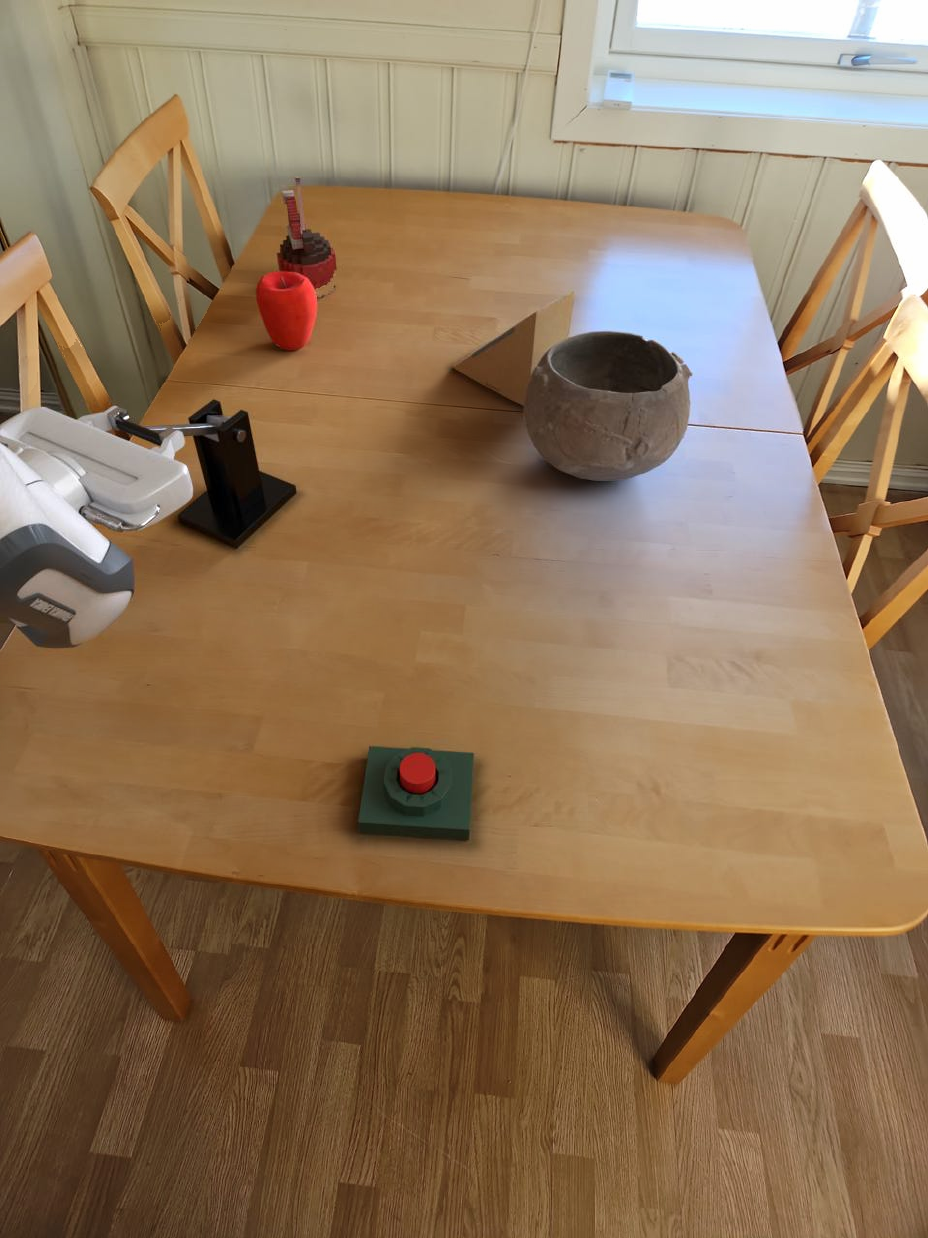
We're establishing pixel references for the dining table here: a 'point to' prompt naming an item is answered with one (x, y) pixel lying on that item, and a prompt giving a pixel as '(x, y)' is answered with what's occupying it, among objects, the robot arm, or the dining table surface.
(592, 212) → the dining table surface
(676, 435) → the clay pot
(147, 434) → the lever
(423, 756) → the button
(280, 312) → the apple
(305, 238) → the cake
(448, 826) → the button box
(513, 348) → the sandwich container
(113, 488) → the robot arm
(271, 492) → the bracket
